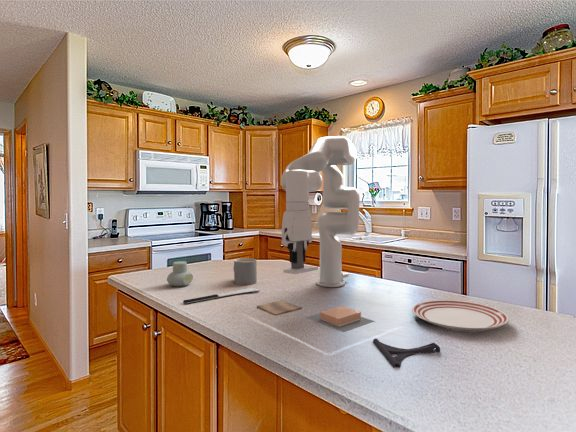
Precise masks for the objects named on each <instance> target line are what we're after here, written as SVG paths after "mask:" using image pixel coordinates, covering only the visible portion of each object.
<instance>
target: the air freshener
mask: <svg viewBox="0 0 576 432" xmlns="http://www.w3.org/2000/svg"><path fill="white" fill-rule="evenodd" d="M193 280H194V275H193V274H192V273H191V272H190V271H189V270H188V263H187V261H184V260H183V261H182V260H181V261H174V262H172V272H170V273H169V274H168V276H167V277H166V281H167V283H168V284H169V285H171V286H173V287H186V285H187V286H188V285H190V284H191V283H192V281H193Z"/></svg>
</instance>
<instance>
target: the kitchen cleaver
mask: <svg viewBox="0 0 576 432" xmlns="http://www.w3.org/2000/svg"><path fill="white" fill-rule="evenodd" d="M258 291H260V289H259V288H254V287H249V288H244V289H237V290H233V291H227V292H222V293H217V294H210V295H205V296H200V297H199V296H198V297H193V298H190V299H184V300H182V303H184V305H191V303H192V304H195V303H201V302H207V301H212V299H213V300H217V299H219V298H222V297H227V296H233V295H239V294H245V293H246V294H247V293H253V292H258Z"/></svg>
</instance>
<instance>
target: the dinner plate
mask: <svg viewBox="0 0 576 432" xmlns="http://www.w3.org/2000/svg"><path fill="white" fill-rule="evenodd" d="M411 311H412V313H413V315H415V316H416V317H417V318H420V319H421V320H423V321H425V322H426V323H430V324H432V325H436V326H437V325H438V326H437V327H440V326H441V328H443V327H444V328H443V329H447V328H448V330H451V329H453V331H457V330H458V332H473V333H474V332H482V331H489V330H494V329H497V328H501V327H503V326H505V325H506V324H508V323H509V322H510V316H509V315H508V314H507V313H505V312H504V311H502V310H501V309H498V308H496V307H492V306H490V305H486V304H481V303H479V302H473V301H472V302H471V301H464V300H453V299H435V300H433V299H431V300H427V301H421V302H418V303H416V304H414V305H413V306H412V307H411Z"/></svg>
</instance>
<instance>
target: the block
mask: <svg viewBox="0 0 576 432" xmlns="http://www.w3.org/2000/svg"><path fill="white" fill-rule="evenodd" d="M319 313H320V319H321V320H324V321H326V322H329V323H332V324H334V325H337V326H342V325H345V324H348V323H351V322H354V321H357V320H360V318H361V317H362V312H361V311H359V310H356V309H354V308H353V309H352V308H351V307H347V306H344V305H340V306H338V307H333V308H329V309H327V310H322V311H320V312H319Z"/></svg>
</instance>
